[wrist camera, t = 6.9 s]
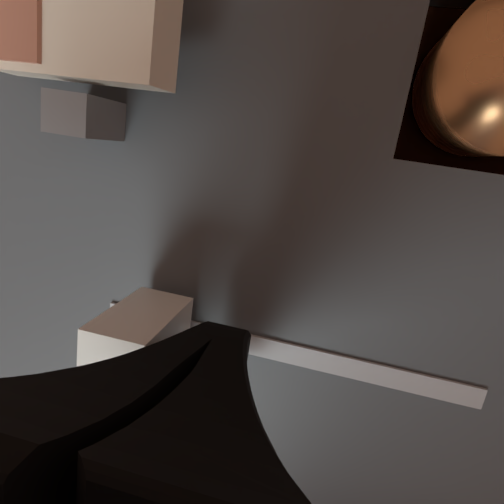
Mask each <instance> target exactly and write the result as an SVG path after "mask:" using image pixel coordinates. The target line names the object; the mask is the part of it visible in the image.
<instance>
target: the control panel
mask: <svg viewBox="0 0 504 504" xmlns="http://www.w3.org/2000/svg"><path fill="white" fill-rule="evenodd" d="M475 1H476V0H184V1H183V12H182V23H181V35H180V46H179V57H178V69H177V80H176V91H175V93H166V92H157V91H148V90H139V89H130V88H121V87H112V86H103V85H95V84H86V83H77V82H68V81H59V80H50V79H41V78H32V77H23V76H16V75H12V74H8V73H4V72H0V378H5V377H15V376H23V375H31V374H38V373H44V372H50V371H55V370H61V369H66V368H72V367H77V338H78V329H79V328H80V327H82V326H83V325H85V324H86V323H88V322H89V321H91V320H92V319H94V318H95V317H97V316H98V315H100V314H101V313H103V312H104V311H106V310H107V309H109V308H110V307H112V306H113V305H115V304H117V303H118V302H120V301H121V300H123V299H124V298H126V297H127V296H129V295H130V294H132V293H133V292H135V291H136V290H138V289H139V288H141V287H145V288H150V289H155V290H159V291H164V292H168V293H173V294H177V295H182V296H186V297H191V298H193V307H192V316H191V325H190V328H192V327H194V326H196V325H199V324H201V323H204V322H207V321H210V322H214V323H218V324H223V325H227V326H231V327H236V328H240V329H245V330H248V331H249V332H250V334H251V341H250V347H249V353H248V360H247V368H248V376H249V382H250V387H251V391H252V395H253V399H254V402H255V405H256V408H257V412H258V414H259V417H260V420H261V422H262V425H263V427H264V429H265V431H266V433H267V435H268V437H269V439H270V441H271V443H272V445H273V447H274V449H275V451H276V453H277V455H278V457H279V459H280V460H281V462H282V464H283V465H284V467H285V469H286V470H287V472H288V473H289V475H290V476H291V477H292V479H293V480H294V481H295V483H296V484H297V485H298V487H299V488H300V489H301V490H302V492H303V493H304V494H305V496H306V497H307V498H308V500H309V501H310V502H311V504H504V175H500V174H494V173H487V172H480V171H473V170H467V169H460V168H453V167H446V166H439V165H433V164H426V163H419V162H412V161H406V160H399V159H393V157H394V153H395V149H396V144H397V140H398V136H399V132H400V127H401V123H402V119H403V114H404V110H405V106H406V102H407V97H408V93H409V89H410V84H411V80H412V76H413V71H414V67H415V63H416V59H417V54H418V50H419V46H420V41H421V37H422V33H423V29H424V24H425V20H426V16H427V11H428V7H429V6H437V7H448V8H460V9H468V8H469V7H470V6H471V5H472V3H474V2H475Z"/></svg>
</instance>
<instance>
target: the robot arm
mask: <svg viewBox="0 0 504 504" xmlns="http://www.w3.org/2000/svg"><path fill="white" fill-rule="evenodd" d="M250 341H251V334H250V332H249V331H248V330H245V329H240V328H236V327H231V326H227V325H223V324H218V323H214V322H210V321H207V322H204V323H201V324H199V325H196V326H194V327H192V328H189V329H187V330H185V331H182V332H180V333H178V334H176V335H173V336H171V337H169V338H166V339H164V340H162V341H159V342H156V343H154V344H151V345H148V346H146V347H143V348H140V349H137V350H135V351H132V352H129V353H126V354H123V355H120V356H117V357H113V358H110V359H106V360H102V361H99V362H95V363H91V364H87V365H82V366H77V367H72V368H66V369H61V370H55V371H50V372H44V373H38V374H31V375H23V376H15V377H5V378H0V504H311V502H310V501H309V500H308V498H307V497H306V496H305V494H304V493H303V492H302V490H301V489H300V488H299V487H298V485H297V484H296V483H295V481H294V480H293V479H292V477H291V476H290V475H289V473H288V472H287V470H286V469H285V467H284V465H283V464H282V462H281V460H280V459H279V457H278V455H277V453H276V451H275V449H274V447H273V445H272V443H271V441H270V439H269V437H268V435H267V433H266V431H265V429H264V427H263V425H262V422H261V420H260V417H259V414H258V412H257V408H256V405H255V402H254V399H253V395H252V391H251V387H250V382H249V376H248V368H247V360H248V353H249V347H250Z"/></svg>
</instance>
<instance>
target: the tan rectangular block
mask: <svg viewBox="0 0 504 504" xmlns="http://www.w3.org/2000/svg"><path fill="white" fill-rule="evenodd" d="M192 307H193V298H191V297H186V296H182V295H177V294H173V293H168V292H164V291H159V290H155V289H150V288H145V287H141V288H139V289H138V290H136V291H135V292H133V293H132V294H130V295H129V296H127V297H126V298H124V299H123V300H121V301H120V302H118V303H117V304H115V305H113V306H112V307H110V308H109V309H107V310H106V311H104V312H103V313H101V314H100V315H98V316H97V317H95V318H94V319H92V320H91V321H89V322H88V323H86V324H85V325H83V326H82V327H80V328H79V329H78V338H77V366H82V365H87V364H91V363H95V362H99V361H102V360H106V359H110V358H113V357H117V356H120V355H123V354H126V353H129V352H132V351H135V350H137V349H140V348H143V347H146V346H148V345H151V344H154V343H156V342H159V341H162V340H164V339H166V338H169V337H171V336H173V335H176V334H178V333H180V332H182V331H185V330H187V329H189V328H190V325H191V316H192Z"/></svg>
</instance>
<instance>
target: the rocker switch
mask: <svg viewBox="0 0 504 504" xmlns="http://www.w3.org/2000/svg"><path fill="white" fill-rule="evenodd" d="M183 1H184V0H0V72H4V73H8V74H12V75H16V76H23V77H32V78H41V79H50V80H59V81H68V82H77V83H86V84H95V85H103V86H112V87H121V88H130V89H139V90H148V91H157V92H166V93H175V91H176V80H177V69H178V57H179V46H180V35H181V23H182V12H183Z"/></svg>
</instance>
